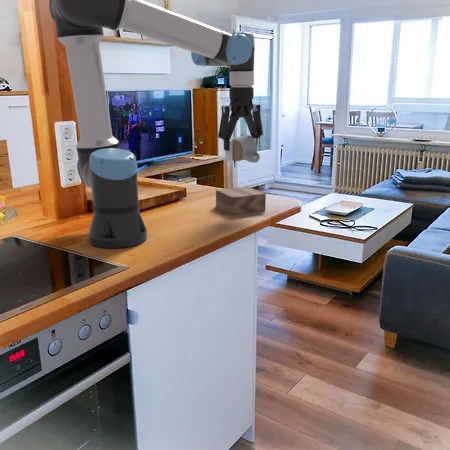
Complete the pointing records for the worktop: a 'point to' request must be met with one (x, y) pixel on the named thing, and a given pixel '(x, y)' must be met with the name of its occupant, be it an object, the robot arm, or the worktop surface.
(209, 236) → the worktop surface
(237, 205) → the walnut box
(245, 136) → the ceramic mug
